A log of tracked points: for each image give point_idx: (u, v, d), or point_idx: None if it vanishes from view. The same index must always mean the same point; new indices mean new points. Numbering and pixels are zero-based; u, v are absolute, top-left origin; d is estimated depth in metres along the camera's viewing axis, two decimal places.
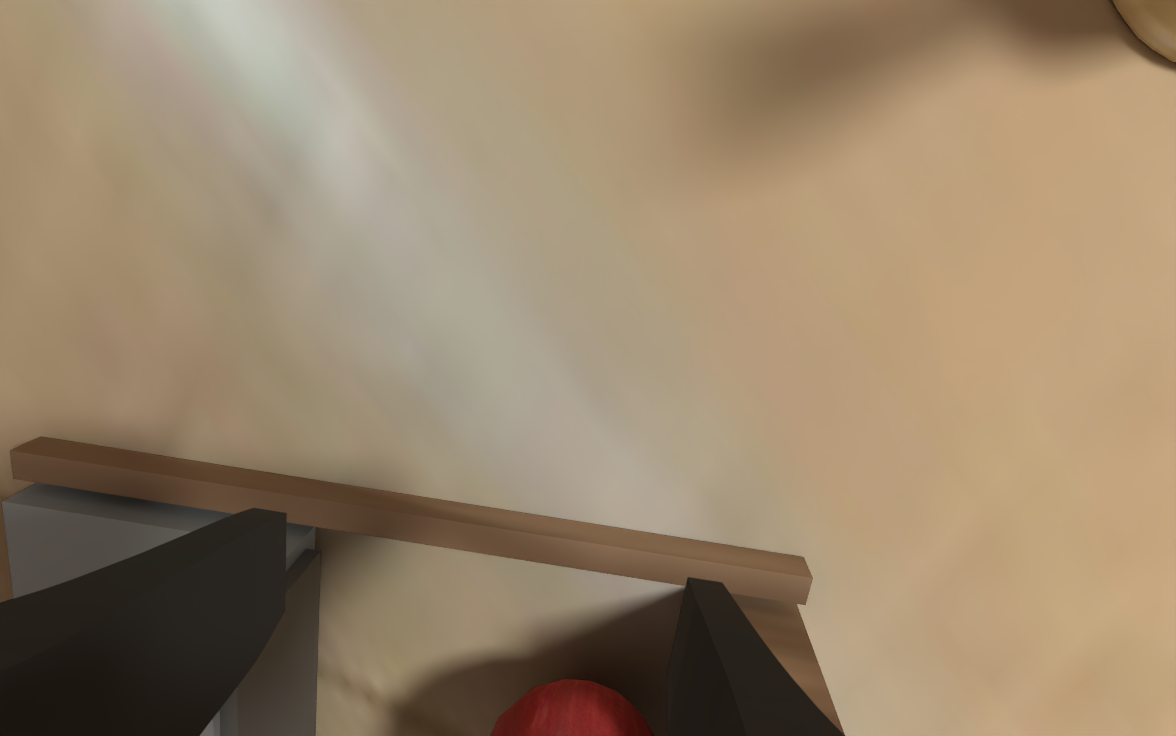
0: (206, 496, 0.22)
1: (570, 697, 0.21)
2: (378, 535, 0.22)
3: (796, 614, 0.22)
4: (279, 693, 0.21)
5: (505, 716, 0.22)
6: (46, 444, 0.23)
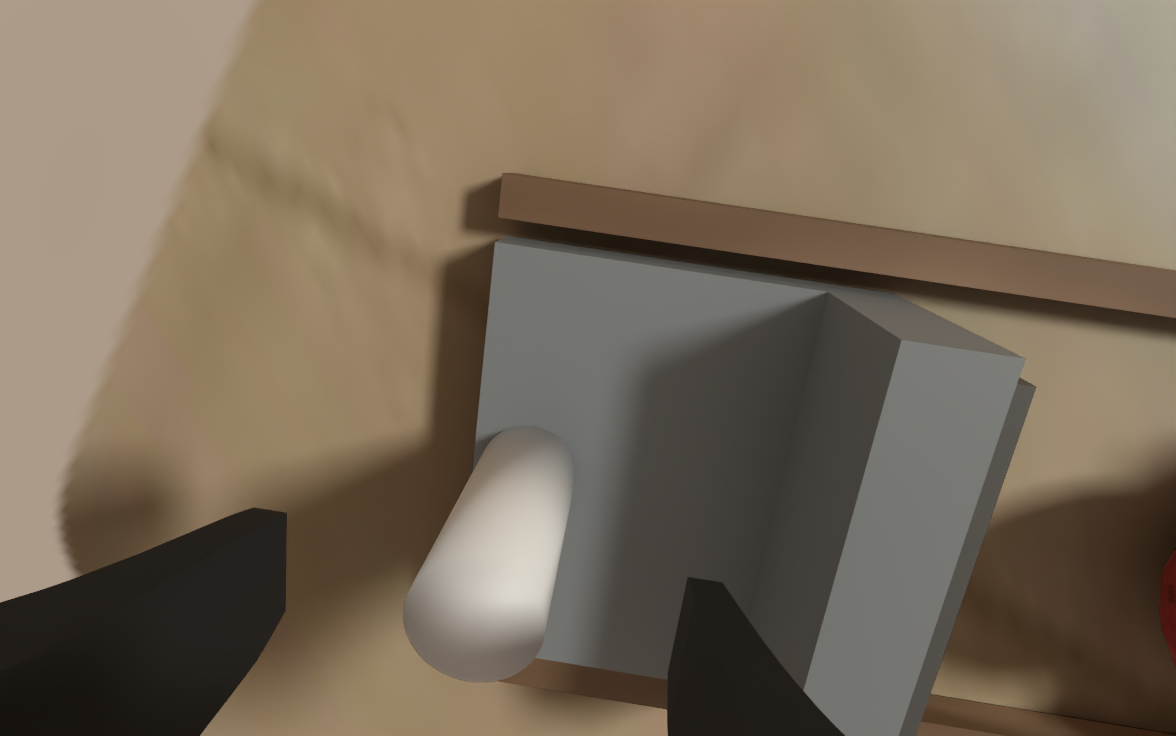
0: (778, 237, 0.16)
1: None
2: (1017, 294, 0.16)
3: None
4: None
5: None
6: (531, 176, 0.17)
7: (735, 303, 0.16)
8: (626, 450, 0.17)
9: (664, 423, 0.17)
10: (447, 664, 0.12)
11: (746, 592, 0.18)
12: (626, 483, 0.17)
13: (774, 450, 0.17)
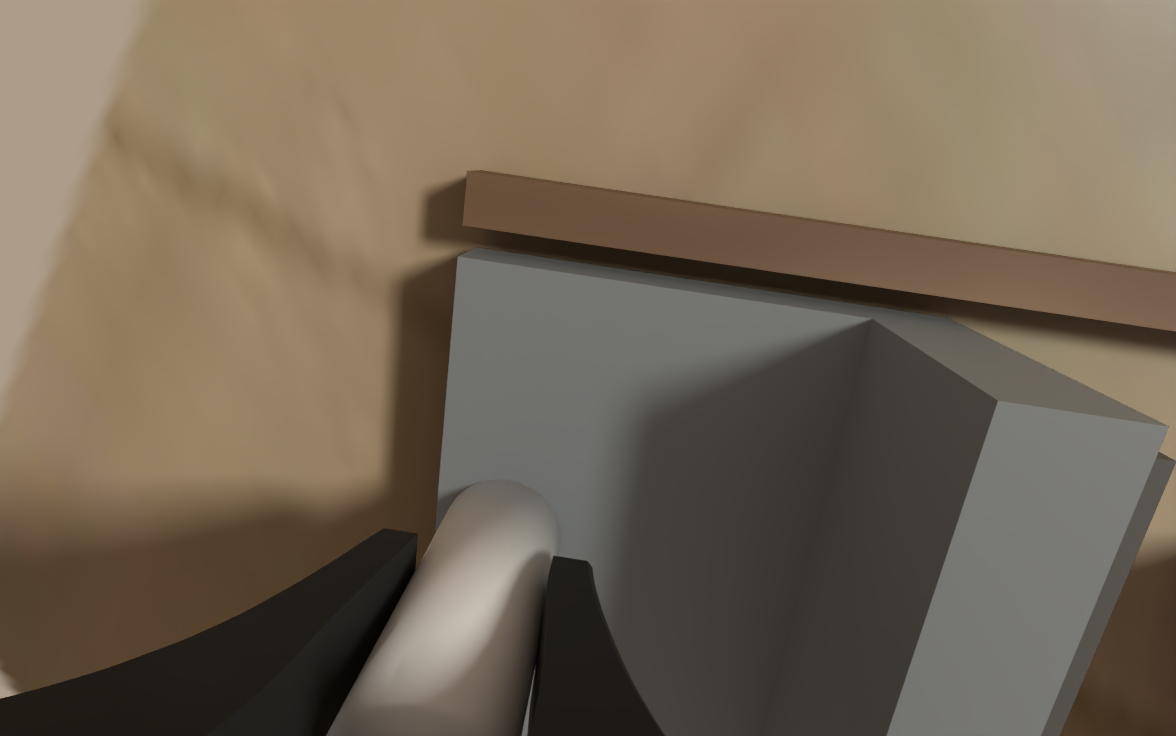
0: (809, 250, 0.13)
1: None
2: (1105, 320, 0.13)
3: None
4: None
5: None
6: (505, 175, 0.13)
7: (757, 332, 0.13)
8: (621, 509, 0.14)
9: (668, 477, 0.14)
10: None
11: (766, 676, 0.15)
12: (621, 549, 0.14)
13: (802, 510, 0.14)
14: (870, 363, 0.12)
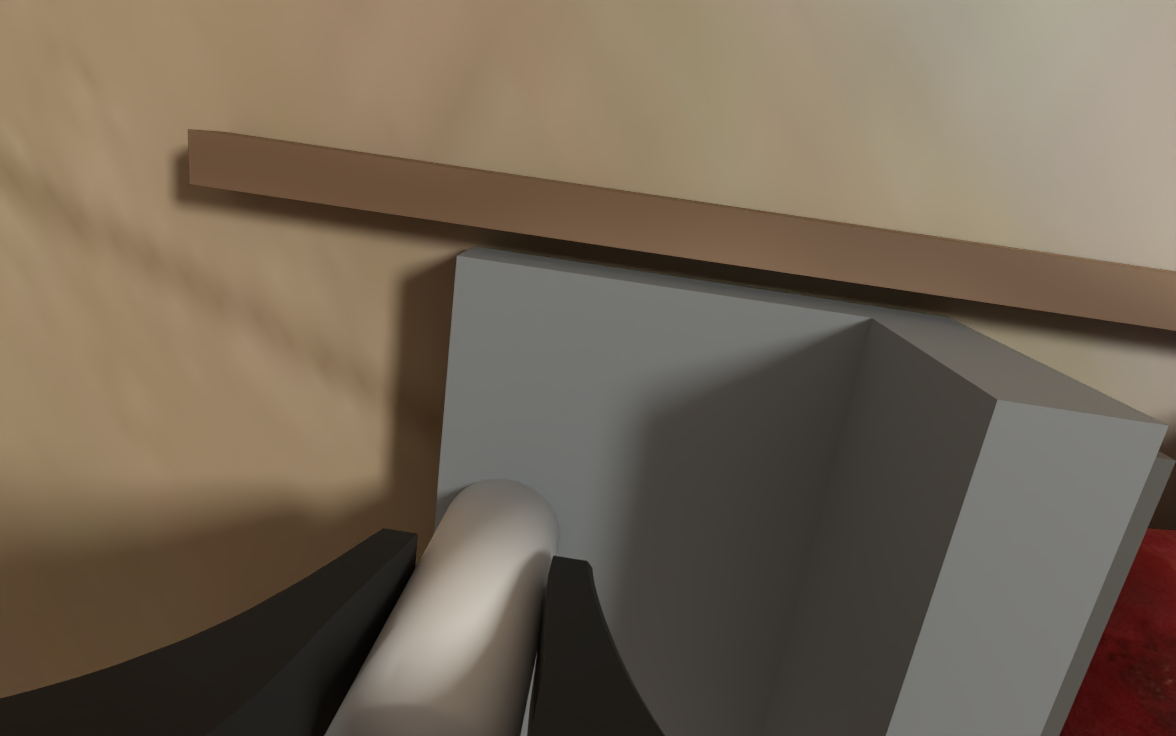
0: (527, 208, 0.13)
1: None
2: (822, 277, 0.13)
3: None
4: None
5: None
6: (240, 135, 0.14)
7: (756, 331, 0.13)
8: (621, 508, 0.14)
9: (667, 477, 0.14)
10: None
11: (766, 676, 0.15)
12: (621, 548, 0.14)
13: (802, 509, 0.14)
14: (870, 362, 0.12)
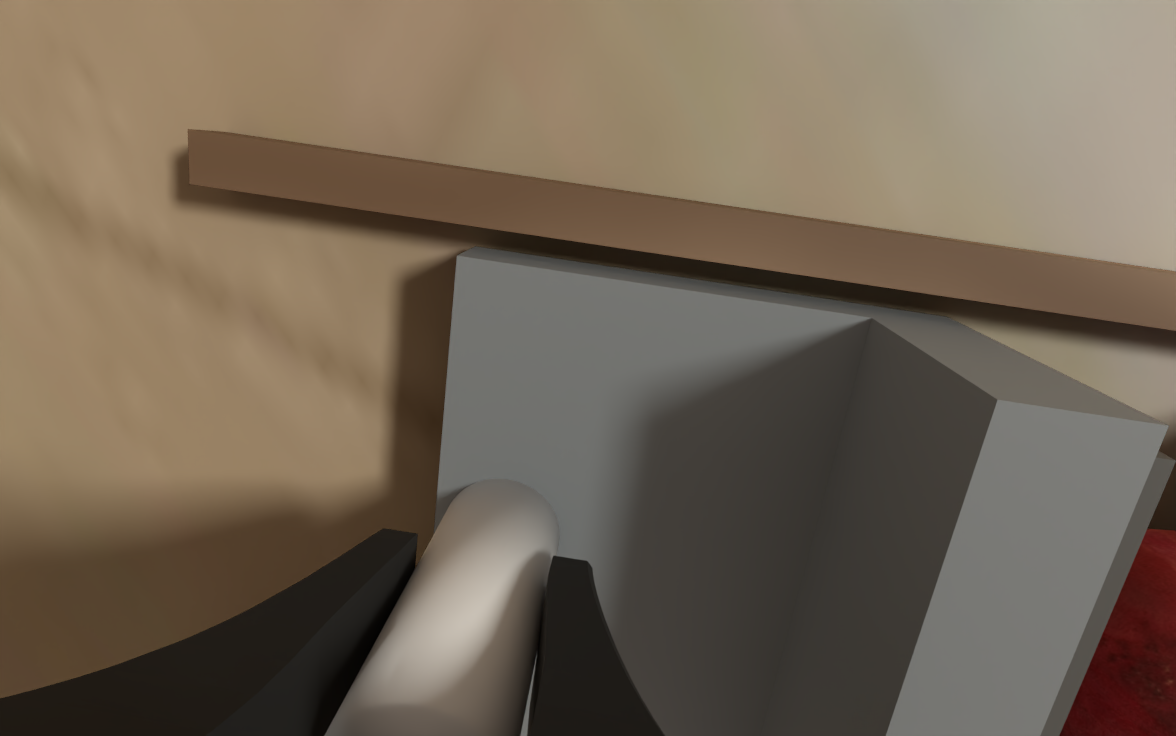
0: (527, 208, 0.13)
1: None
2: (822, 277, 0.13)
3: None
4: None
5: None
6: (240, 135, 0.14)
7: (756, 331, 0.13)
8: (621, 508, 0.14)
9: (667, 477, 0.14)
10: None
11: (766, 676, 0.15)
12: (621, 548, 0.14)
13: (802, 509, 0.14)
14: (870, 362, 0.12)
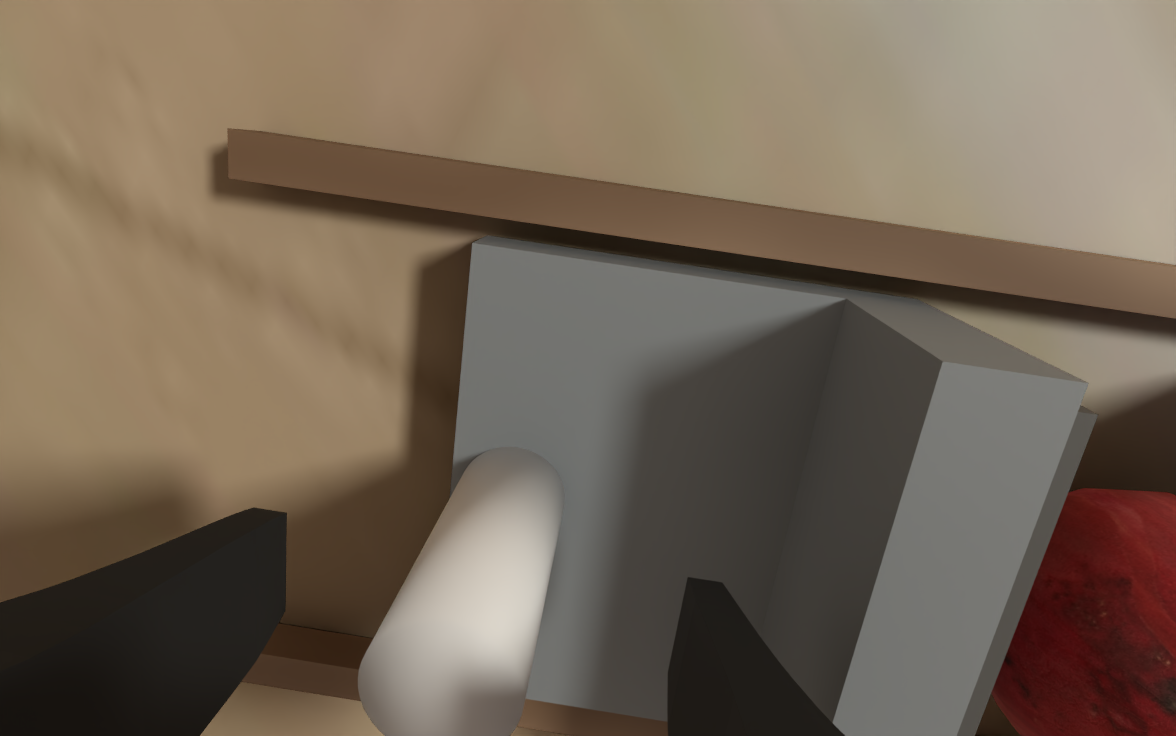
0: (535, 199, 0.14)
1: (1147, 497, 0.13)
2: (802, 262, 0.14)
3: None
4: None
5: None
6: (273, 134, 0.15)
7: (742, 311, 0.14)
8: (620, 474, 0.15)
9: (662, 444, 0.15)
10: None
11: None
12: (620, 510, 0.15)
13: (785, 474, 0.15)
14: (844, 338, 0.14)
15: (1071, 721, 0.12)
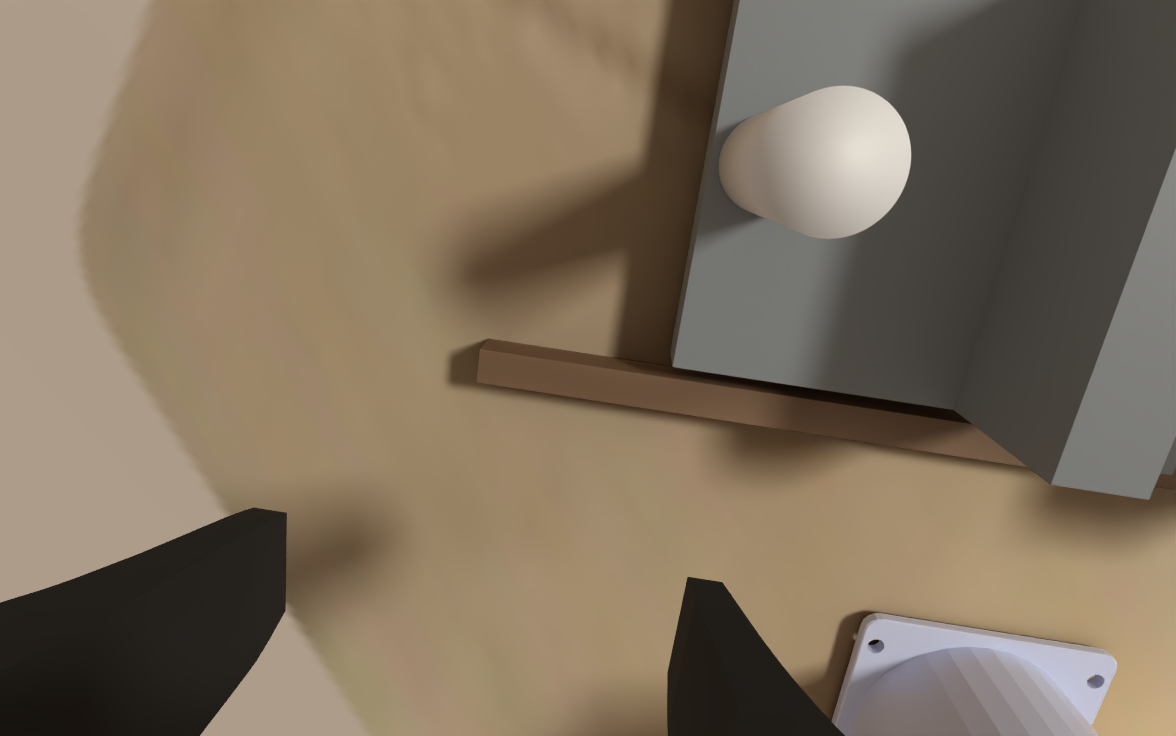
0: None
1: None
2: None
3: None
4: None
5: None
6: None
7: None
8: None
9: (914, 105, 0.16)
10: (801, 216, 0.11)
11: (980, 297, 0.18)
12: None
13: (1025, 133, 0.16)
14: None
15: None
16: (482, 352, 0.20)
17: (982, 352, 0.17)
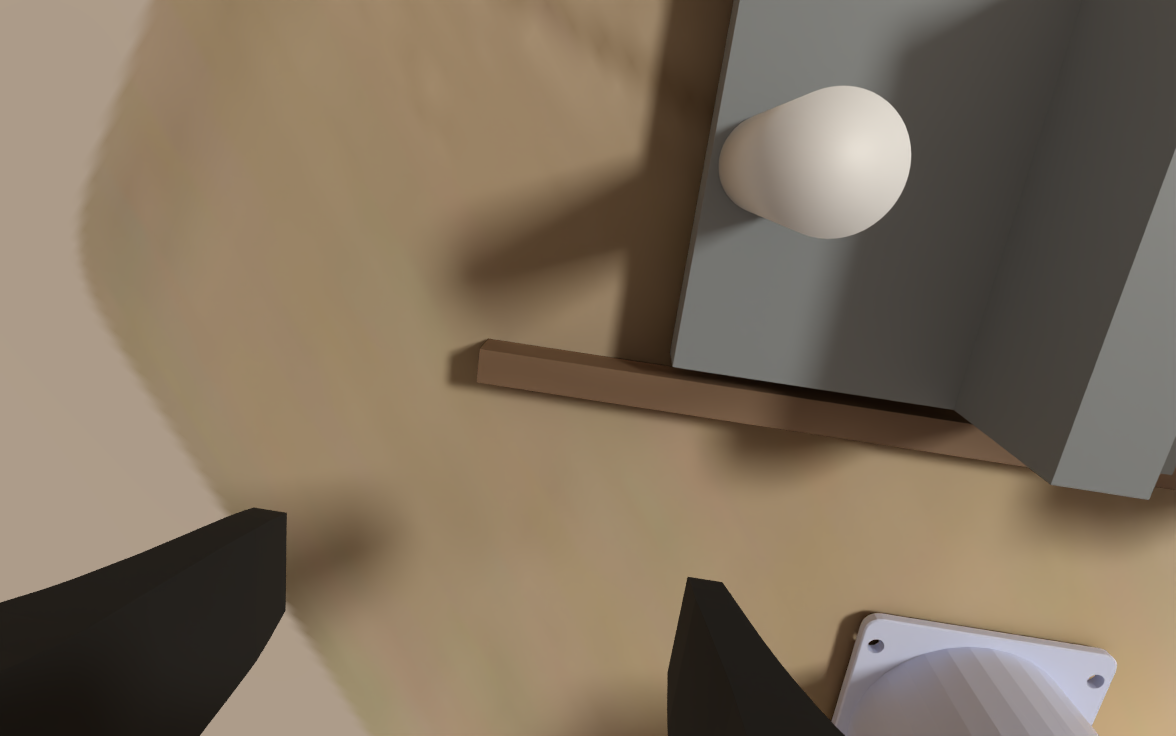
0: None
1: None
2: None
3: None
4: None
5: None
6: None
7: None
8: None
9: (914, 105, 0.16)
10: (801, 216, 0.11)
11: (980, 297, 0.18)
12: None
13: (1025, 133, 0.16)
14: None
15: None
16: (482, 352, 0.20)
17: (982, 352, 0.17)
